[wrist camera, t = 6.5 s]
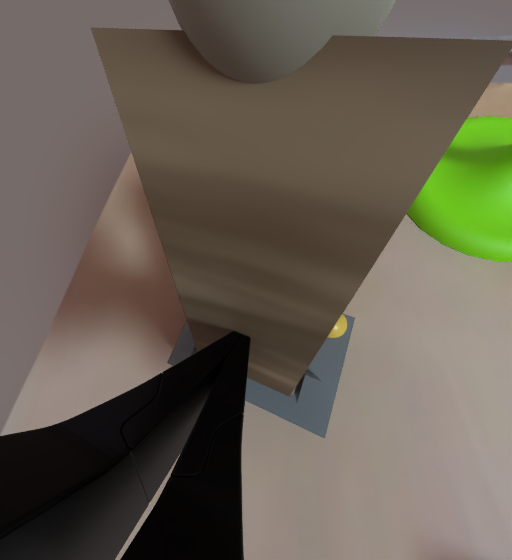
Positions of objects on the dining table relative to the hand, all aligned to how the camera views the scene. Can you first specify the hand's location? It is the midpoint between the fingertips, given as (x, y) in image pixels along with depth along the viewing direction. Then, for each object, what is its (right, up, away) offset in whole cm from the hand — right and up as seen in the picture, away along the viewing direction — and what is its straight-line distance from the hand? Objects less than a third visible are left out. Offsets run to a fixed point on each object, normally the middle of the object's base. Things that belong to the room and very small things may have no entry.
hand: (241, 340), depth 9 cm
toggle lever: (0, -3, +4) cm, 5 cm away
